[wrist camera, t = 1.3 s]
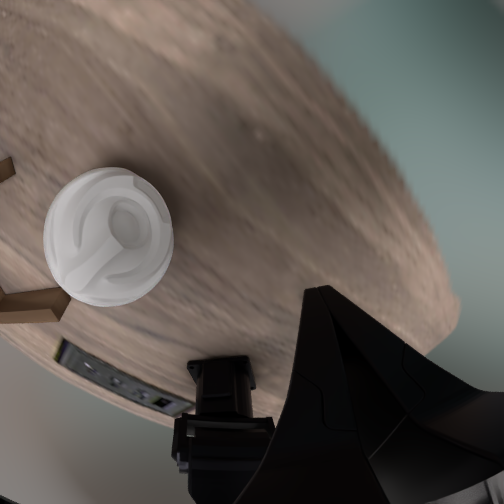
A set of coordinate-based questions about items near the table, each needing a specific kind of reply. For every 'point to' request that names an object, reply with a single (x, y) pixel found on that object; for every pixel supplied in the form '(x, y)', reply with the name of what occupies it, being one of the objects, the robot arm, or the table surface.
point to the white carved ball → (108, 237)
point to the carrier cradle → (34, 302)
